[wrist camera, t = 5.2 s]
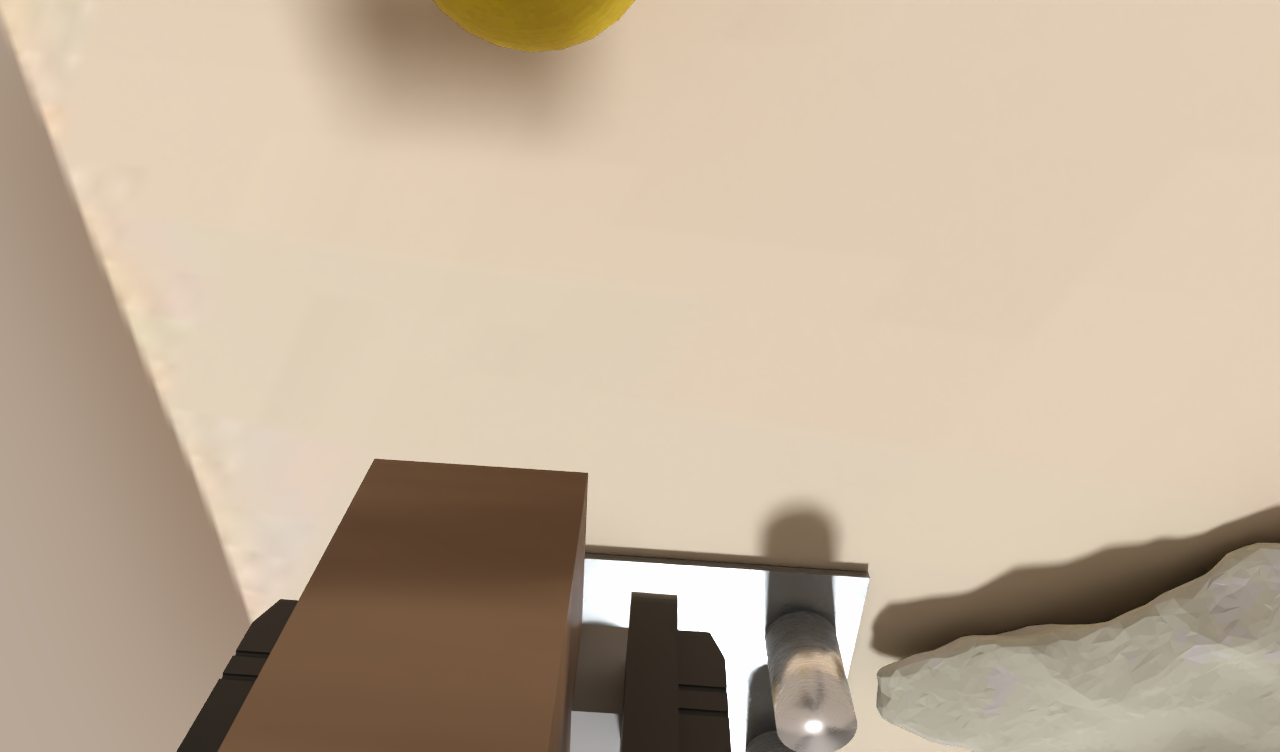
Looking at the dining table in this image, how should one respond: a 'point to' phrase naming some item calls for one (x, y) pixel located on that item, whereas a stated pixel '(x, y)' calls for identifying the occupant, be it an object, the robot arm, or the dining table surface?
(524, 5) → the lemon
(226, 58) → the dining table surface
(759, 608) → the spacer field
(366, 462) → the dining table surface
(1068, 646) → the stone tool
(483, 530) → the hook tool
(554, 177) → the dining table surface
